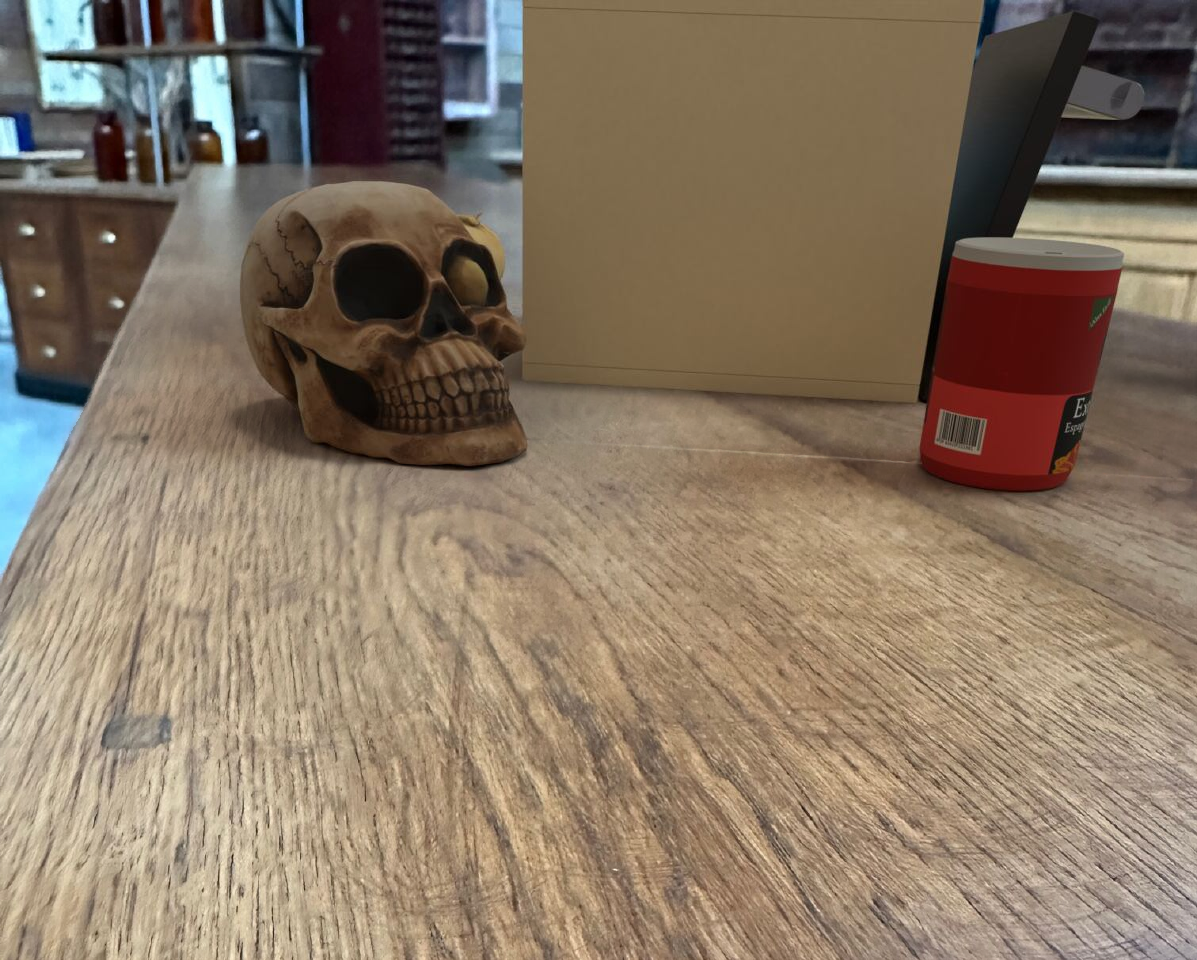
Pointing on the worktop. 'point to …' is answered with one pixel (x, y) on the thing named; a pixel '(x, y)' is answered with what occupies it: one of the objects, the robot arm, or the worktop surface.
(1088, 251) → the canned food
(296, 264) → the brown skull
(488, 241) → the onion
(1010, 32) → the oven door
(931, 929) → the worktop surface
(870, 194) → the oven
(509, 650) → the worktop surface
